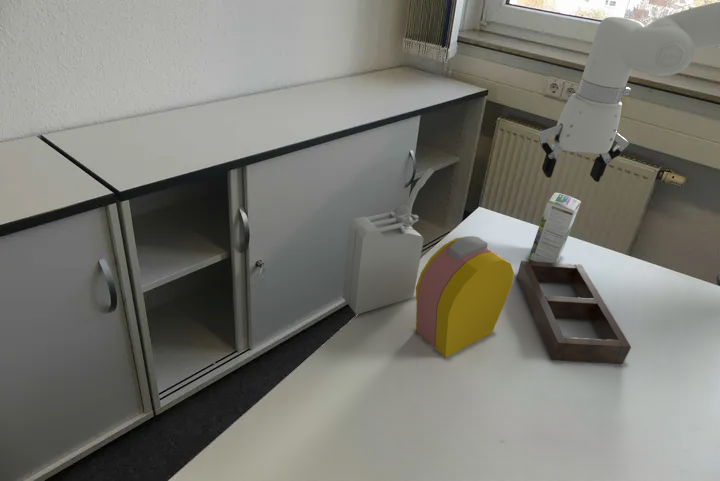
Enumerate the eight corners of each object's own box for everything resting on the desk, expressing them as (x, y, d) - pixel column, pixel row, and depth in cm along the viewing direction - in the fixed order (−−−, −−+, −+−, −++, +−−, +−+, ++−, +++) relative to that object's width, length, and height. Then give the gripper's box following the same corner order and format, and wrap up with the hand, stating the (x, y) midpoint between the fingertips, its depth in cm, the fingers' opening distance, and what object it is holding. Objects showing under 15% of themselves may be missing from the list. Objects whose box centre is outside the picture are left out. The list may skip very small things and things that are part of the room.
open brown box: (575, 280, 112) (581, 264, 110) (622, 364, 92) (631, 347, 90) (516, 276, 111) (521, 260, 109) (551, 360, 91) (558, 342, 89)
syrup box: (535, 247, 121) (553, 190, 113) (561, 257, 118) (582, 199, 111) (527, 259, 117) (546, 200, 109) (554, 269, 114) (575, 210, 106)
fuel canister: (410, 279, 107) (429, 164, 93) (424, 293, 103) (447, 176, 90) (341, 298, 100) (352, 177, 87) (354, 315, 97) (367, 191, 83)
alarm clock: (465, 304, 102) (486, 220, 92) (498, 329, 97) (524, 244, 87) (405, 331, 94) (421, 244, 84) (437, 361, 89) (458, 271, 79)
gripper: (636, 89, 101) (605, 171, 110) (547, 80, 100) (522, 164, 109) (655, 103, 95) (620, 189, 104) (559, 94, 94) (533, 181, 103)
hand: (570, 176), depth 107 cm, fingers open, 9 cm apart
